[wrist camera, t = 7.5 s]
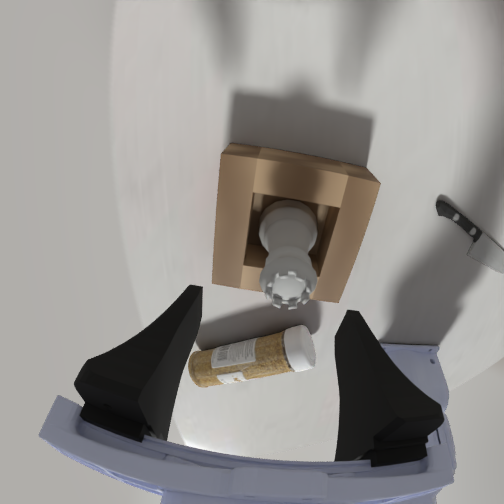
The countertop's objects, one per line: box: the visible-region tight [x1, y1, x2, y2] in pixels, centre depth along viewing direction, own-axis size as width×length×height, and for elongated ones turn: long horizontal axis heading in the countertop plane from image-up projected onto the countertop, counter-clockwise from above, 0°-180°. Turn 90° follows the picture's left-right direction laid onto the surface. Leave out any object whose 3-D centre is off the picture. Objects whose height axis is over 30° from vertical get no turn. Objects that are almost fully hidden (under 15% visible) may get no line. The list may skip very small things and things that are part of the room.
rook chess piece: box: [259, 199, 318, 310], centre depth 18 cm, size 4×4×8 cm
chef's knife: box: [436, 200, 504, 273], centre depth 21 cm, size 19×1×3 cm
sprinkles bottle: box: [188, 325, 316, 387], centre depth 29 cm, size 5×5×14 cm
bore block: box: [212, 143, 381, 303], centre depth 21 cm, size 10×10×4 cm
